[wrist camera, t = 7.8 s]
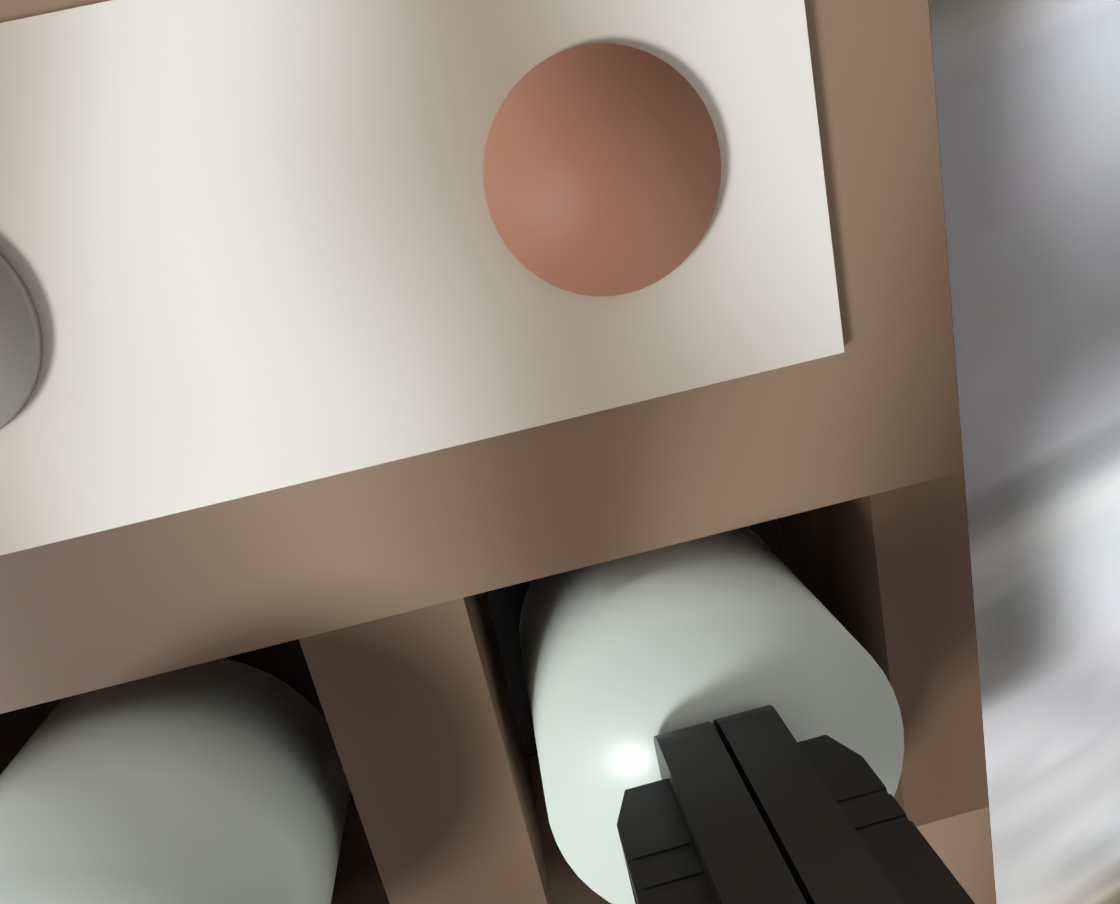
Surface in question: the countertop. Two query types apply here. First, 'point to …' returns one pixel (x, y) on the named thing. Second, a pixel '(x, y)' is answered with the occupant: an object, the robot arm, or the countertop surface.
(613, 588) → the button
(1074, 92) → the countertop surface
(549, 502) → the brown wooden tray
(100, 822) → the button middle
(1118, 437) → the countertop surface
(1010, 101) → the countertop surface
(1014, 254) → the countertop surface
